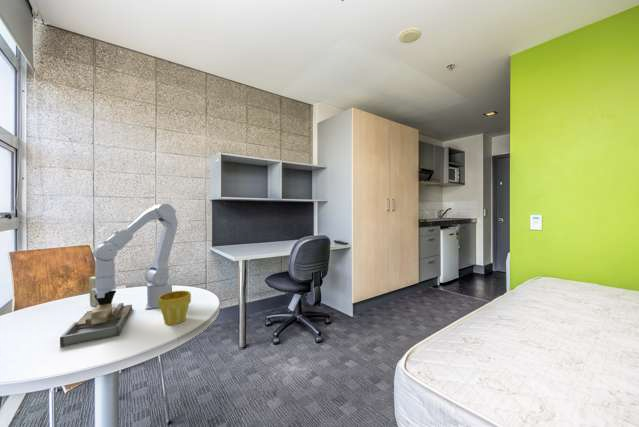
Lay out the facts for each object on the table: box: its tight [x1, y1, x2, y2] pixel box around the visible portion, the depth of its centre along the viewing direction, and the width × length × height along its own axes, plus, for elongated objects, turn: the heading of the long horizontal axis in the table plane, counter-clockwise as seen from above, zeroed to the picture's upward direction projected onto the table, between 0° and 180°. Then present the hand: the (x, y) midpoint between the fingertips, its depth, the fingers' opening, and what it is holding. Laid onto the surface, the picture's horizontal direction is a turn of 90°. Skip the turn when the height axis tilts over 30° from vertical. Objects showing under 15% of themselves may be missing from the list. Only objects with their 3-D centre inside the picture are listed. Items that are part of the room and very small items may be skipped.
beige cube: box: [91, 307, 109, 324], centre depth 90 cm, size 4×4×4 cm
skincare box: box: [88, 276, 99, 308], centre depth 112 cm, size 6×4×12 cm
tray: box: [59, 314, 127, 348], centre depth 85 cm, size 14×12×3 cm
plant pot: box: [158, 290, 192, 326], centre depth 93 cm, size 10×10×10 cm
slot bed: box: [77, 302, 133, 327], centre depth 96 cm, size 14×14×3 cm
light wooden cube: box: [94, 302, 113, 317], centre depth 93 cm, size 4×4×4 cm
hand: (106, 311), depth 96 cm, fingers closed
